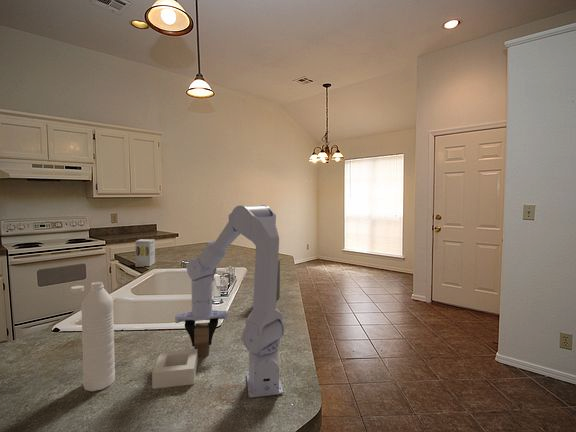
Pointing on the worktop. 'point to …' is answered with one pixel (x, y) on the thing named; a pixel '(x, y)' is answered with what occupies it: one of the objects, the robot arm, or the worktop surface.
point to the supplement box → (144, 252)
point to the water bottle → (97, 337)
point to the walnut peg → (201, 338)
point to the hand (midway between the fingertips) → (202, 344)
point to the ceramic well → (175, 368)
